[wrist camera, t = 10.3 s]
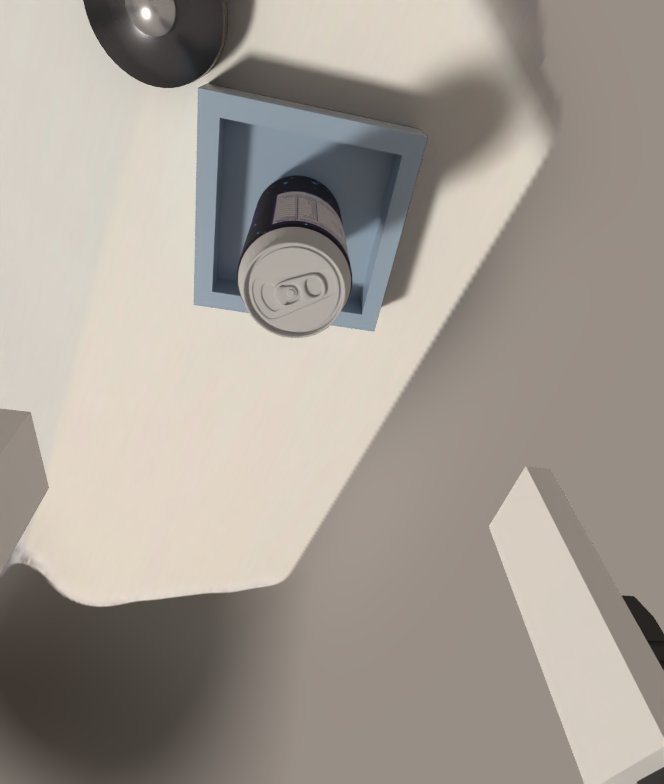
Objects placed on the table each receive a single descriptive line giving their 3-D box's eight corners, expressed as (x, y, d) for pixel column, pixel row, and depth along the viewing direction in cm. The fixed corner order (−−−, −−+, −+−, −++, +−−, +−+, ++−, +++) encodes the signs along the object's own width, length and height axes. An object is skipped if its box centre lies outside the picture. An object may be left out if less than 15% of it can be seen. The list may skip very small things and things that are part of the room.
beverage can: (243, 185, 31) (214, 252, 21) (328, 161, 30) (338, 217, 20) (271, 267, 34) (257, 356, 24) (348, 246, 33) (365, 330, 24)
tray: (207, 83, 28) (198, 87, 26) (418, 129, 30) (427, 137, 27) (201, 286, 36) (193, 304, 33) (369, 312, 37) (374, 331, 35)
